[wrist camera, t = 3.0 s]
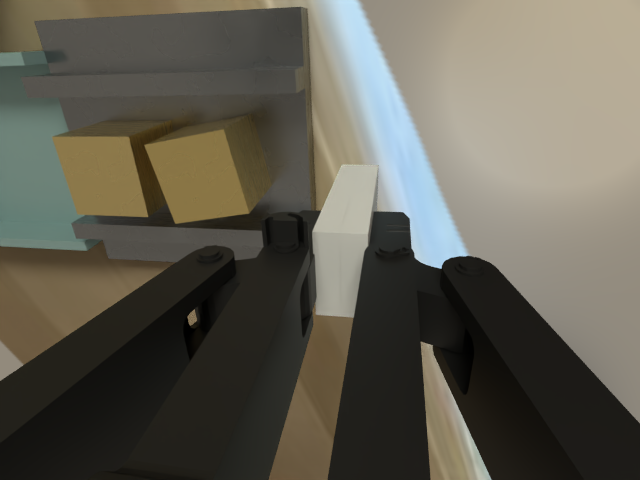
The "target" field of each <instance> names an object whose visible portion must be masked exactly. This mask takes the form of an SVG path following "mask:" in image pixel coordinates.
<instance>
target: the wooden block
mask: <svg viewBox="0 0 640 480" xmlns="http://www.w3.org/2000/svg"><path fill="white" fill-rule="evenodd" d="M172 132H173V127H172V121H171V120H107V121H102V122H98V123H95V124H92V125H88V126H85V127H82V128H79V129H75V130H72V131H69V132H65V133H62V134H59V135H55V136H52V139H53V142H54V145H55V148H56V151H57V154H58V157H59V160H60V163H61V166H62V169H63V172H64V175H65V178H66V181H67V184H68V187H69V190H70V193H71V196H72V199H73V202H74V205H75V208H76V211H77V214H78V215H104V216H132V217H149V216H151V215H152V214H153V213H155V212H156V211H157V210H159V209H160V208H161V207H163V206H164V205H165V204H167V202H166V199H165V196H164V194H163V191H162V189H161V186H160V184H159V181H158V179H157V176H156V174H155V171H154V169H153V166H152V163H151V161H150V158H149V156H148V153H147V151H146V148H145V146H144V145H145V144H148V143H150V142H152V141H154V140H156V139H159V138H161V137H163V136H165V135H168V134H170V133H172Z"/></svg>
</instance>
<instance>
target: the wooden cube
mask: <svg viewBox="0 0 640 480" xmlns="http://www.w3.org/2000/svg"><path fill="white" fill-rule="evenodd" d="M144 146H145V148H146V151H147V153H148V156H149V158H150V161H151V163H152V166H153V169H154V171H155V174H156V176H157V179H158V181H159V184H160V186H161V189H162V191H163V194H164V196H165V199H166V202H167V204H168V207H169V209H170V212H171V214H172V217H173V219H174V222H175V224H177V223H185V222H192V221H199V220H206V219H213V218H220V217H227V216H234V215H242V214H249V213H250V212H251V211H252V209H253V208H254V207H255V206H256V204H257V203H258V202H259V201H260V200H261V198H262V197H263V196H264V195H265V193H266V192H267V191H268V190H269V188H270V187H271V186H272V184H271V181H270V177H269V173H268V170H267V166H266V162H265V159H264V155H263V151H262V148H261V144H260V140H259V137H258V133H257V129H256V126H255V122H254V118H253V115H252V113H251V114H246V115H241V116H236V117H231V118H226V119H221V120H217V121H212V122H207V123H202V124H197V125H192V126H187V127H183V128H181V129H179V130H177V131H174V132H172V133H170V134H168V135H165V136H163V137H161V138H159V139H156V140H154V141H152V142H150V143H148V144H145V145H144Z"/></svg>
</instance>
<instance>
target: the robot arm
mask: <svg viewBox="0 0 640 480" xmlns="http://www.w3.org/2000/svg"><path fill="white" fill-rule="evenodd" d="M377 197H378V165H341V168H340V170H339V172H338V174H337V177H336V179H335V181H334V183H333V186H332V188H331V190H330V192H329V195H328V197H327V199H326V202H325V204H324V206H323V208H322V211H312V210H302V211H300V212H299V213H298V212H277V213H272V214H270V215H267V216H265V217H263V218H262V219H261V228H262V238H263V248H262V250H261V251H260V253H259V254H258V256H257V257H256V258H250V259H242V260H235V256H234V251H233V250H231V249H230V248H228V247H225V246H217V245H212V246H205V247H204V248H201V249H197V250H195V251H193V252H191V253H190V254H188V255H187V256H185V257H184V258H182V259H181V260H179V261H178V262H176V263H175V264H173V265H172V266H170V267H169V268H167V269H166V270H164V271H163V272H161V273H160V274H159V275H157V276H156V277H154V278H153V279H151V280H150V281H148V282H147V283H145V284H144V285H142V286H141V287H139V288H138V289H136V290H135V291H133V292H132V293H130V294H129V295H127V296H126V297H124V298H123V299H121V300H120V301H118V302H117V303H115V304H114V305H113V306H111V307H110V308H108V309H107V310H105V311H104V312H102V313H101V314H99V315H98V316H96V317H95V318H93V319H92V320H90V321H89V322H87V323H86V324H84V325H83V326H81V327H80V328H78V329H77V330H75V331H74V332H72V333H71V334H69V335H68V336H66V337H65V338H64V339H62V340H61V341H59V342H58V343H56V344H55V345H53V346H52V347H50V348H49V349H47V350H46V351H44V352H43V353H41V354H40V355H38V356H37V357H35V358H34V359H32V360H31V361H29V362H28V363H26V364H25V365H23V366H22V367H20V368H19V369H18V370H16V371H15V372H13V373H12V374H10V375H9V376H7V377H6V378H4V379H3V380H1V381H0V480H268V479H269V475H270V472H271V469H272V465H273V462H274V458H275V455H276V451H277V448H278V444H279V441H280V437H281V434H282V431H283V427H284V424H285V420H286V417H287V413H288V410H289V406H290V403H291V400H292V396H293V393H294V389H295V386H296V382H297V379H298V375H299V372H300V368H301V365H302V362H303V358H304V355H305V351H306V348H307V344H308V341H309V337H310V334H311V331H312V327H313V311H312V310H313V307H314V304H315V303H316V315H327V316H340V317H353V318H354V319H353V325H352V332H351V338H350V344H349V350H348V356H347V363H346V369H345V375H344V381H343V387H342V394H341V400H340V406H339V412H338V418H337V425H336V431H335V437H334V443H333V449H332V456H331V462H330V468H329V474H328V480H430V466H429V452H428V439H427V425H426V411H425V397H424V383H423V369H422V355H421V342H424V343H428V344H431V345H433V352H434V356H435V358H436V360H437V362H438V364H439V367H440V369H441V371H442V373H443V375H444V377H445V380H446V382H447V384H448V386H449V388H450V390H451V392H452V395H453V397H454V399H455V401H456V403H457V405H458V408H459V410H460V412H461V414H462V416H463V418H464V421H465V423H466V425H467V427H468V429H469V431H470V434H471V436H472V438H473V440H474V442H475V444H476V447H477V449H478V451H479V453H480V455H481V457H482V459H483V462H484V464H485V466H486V468H487V470H488V472H489V475H490V477H491V479H492V480H640V423H639V422H638V421H637V420H636V419H635V418H634V417H633V416H632V415H631V414H630V413H629V411H628V410H627V409H626V408H625V407H624V406H623V405H622V404H621V403H620V402H619V401H618V399H617V398H616V397H615V396H614V395H613V394H612V393H611V392H610V391H609V390H608V388H607V387H606V386H605V385H604V384H603V383H602V382H601V381H600V380H599V379H598V378H597V377H596V375H595V374H594V373H593V372H592V371H591V370H590V369H589V368H588V367H587V366H586V365H585V363H583V361H582V360H581V359H580V358H579V357H578V356H577V355H576V354H575V353H574V352H573V350H572V349H571V348H570V347H569V346H568V345H567V344H566V343H565V342H564V341H563V340H562V338H561V337H560V336H559V335H558V334H557V333H556V332H555V331H554V330H553V329H552V328H551V326H550V325H548V323H547V322H546V321H545V320H544V319H543V318H542V317H541V316H540V314H539V313H538V312H537V311H536V310H535V309H534V308H533V307H532V306H531V305H530V304H529V303H528V301H527V300H526V299H525V298H524V297H523V296H522V295H521V294H520V293H519V292H518V291H517V290H516V288H515V287H514V286H513V285H512V284H511V283H510V282H509V281H508V280H507V279H506V278H505V276H504V275H503V274H502V273H501V272H500V271H499V270H498V269H497V268H496V267H495V266H494V265H492V264H491V263H489V262H487V261H485V260H482V259H480V258H477V257H475V258H474V257H472V256H466V257H462V256H460V257H454V258H450V259H448V260H446V261H445V262H444V263H443V265H442V269H439V268H435V267H431V266H428V265H425V264H423V263H421V262H419V261H418V260H416V259H415V258H414V252H413V250H412V249H411V235H410V220H409V218H408V217H407V216H406V215H405V214H404V213H403V212H377ZM194 309H195V313H196V317H197V321H196V322H195V323H194V324H193V325H191V326H190V325H189V323H188V318H187V316H188V315H189V314H190V312H192V311H193V310H194Z"/></svg>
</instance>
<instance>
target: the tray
mask: <svg viewBox="0 0 640 480" xmlns="http://www.w3.org/2000/svg"><path fill="white" fill-rule="evenodd" d="M42 74H51V73H50V69H49V66H48V63H47V60H46V57H45V53H44V51H26V52H1V53H0V246H5V247H24V248H44V249H63V250H82V251H88V250H89V249H90V248H92V247H93V246H95V245H96V244H98V243H99V242H100V241H102V240H97V239H76V236H75V233H74V231H73V228H72V225H71V223H72V222H74V221H76V220H77V219H79V218H81V217H83V216H84V215H78V214H77V211H76V208H75V205H74V202H73V199H72V196H71V193H70V190H69V187H68V184H67V181H66V178H65V175H64V172H63V169H62V166H61V163H60V160H59V157H58V154H57V151H56V148H55V145H54V142H53V139H52V136H55V135H59V134H62V133H65V132H69V130H68V127H67V124H66V121H65V118H64V114H63V111H62V108H61V105H60V102H59V98H28V97H27V94H26V91H25V88H24V85H23V82H22V79H21V77H25V76H34V75H42Z"/></svg>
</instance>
